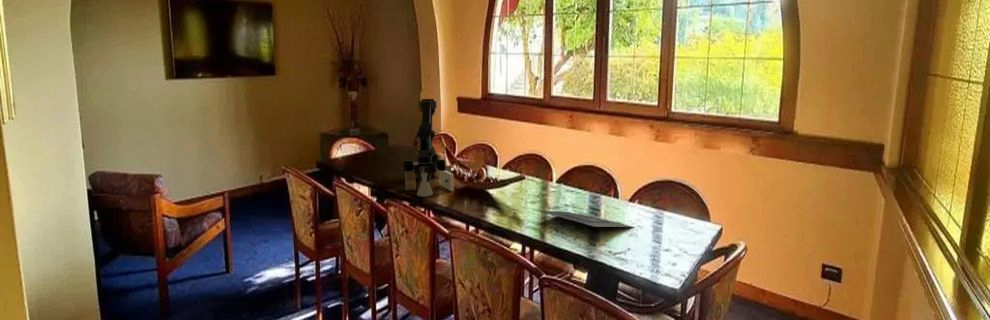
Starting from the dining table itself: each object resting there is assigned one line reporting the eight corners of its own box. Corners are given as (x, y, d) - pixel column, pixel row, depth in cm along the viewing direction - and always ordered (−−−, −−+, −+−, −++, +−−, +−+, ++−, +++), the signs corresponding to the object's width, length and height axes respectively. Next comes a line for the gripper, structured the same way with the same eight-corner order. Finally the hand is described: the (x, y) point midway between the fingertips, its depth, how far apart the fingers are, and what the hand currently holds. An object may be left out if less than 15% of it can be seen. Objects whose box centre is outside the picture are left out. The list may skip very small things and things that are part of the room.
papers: (574, 218, 254) (575, 209, 254) (634, 234, 232) (635, 224, 232) (532, 217, 238) (534, 208, 238) (593, 234, 216) (595, 224, 216)
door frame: (405, 189, 286) (404, 170, 284) (450, 183, 296) (450, 164, 294) (406, 190, 284) (406, 171, 282) (452, 184, 294) (452, 165, 292)
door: (438, 185, 291) (437, 169, 289) (443, 184, 292) (442, 168, 291) (448, 191, 281) (447, 174, 279) (453, 190, 282) (453, 174, 280)
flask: (413, 196, 275) (412, 174, 273) (422, 192, 281) (422, 170, 279) (427, 198, 272) (426, 176, 269) (436, 194, 278) (435, 172, 276)
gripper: (402, 142, 275) (400, 172, 266) (444, 141, 275) (444, 171, 267) (405, 155, 284) (403, 185, 276) (446, 155, 285) (445, 184, 277)
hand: (424, 181), depth 274 cm, fingers closed on flask, 3 cm apart
